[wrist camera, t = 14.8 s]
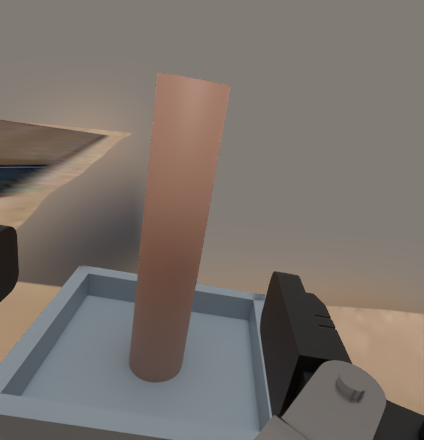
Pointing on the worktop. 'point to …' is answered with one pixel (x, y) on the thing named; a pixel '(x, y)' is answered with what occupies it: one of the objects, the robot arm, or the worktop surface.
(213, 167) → the dowel
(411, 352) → the worktop surface
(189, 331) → the tray
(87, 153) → the worktop surface
